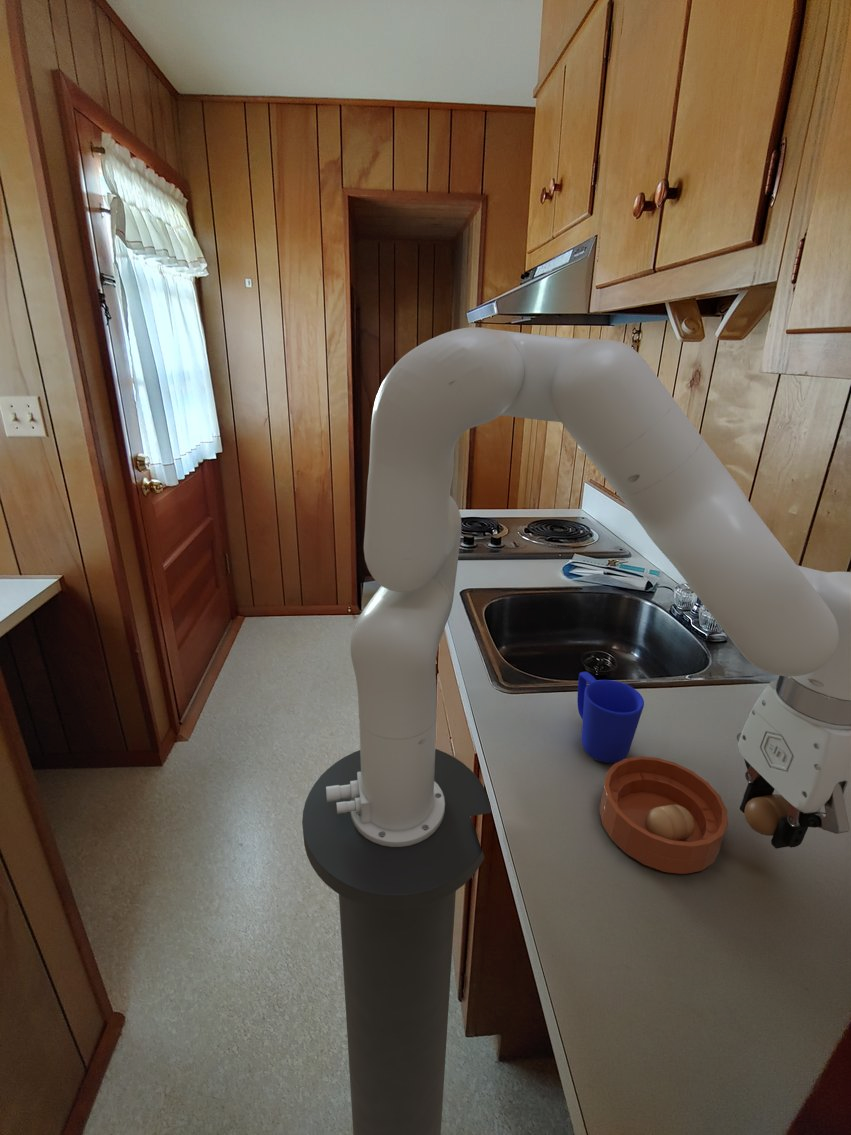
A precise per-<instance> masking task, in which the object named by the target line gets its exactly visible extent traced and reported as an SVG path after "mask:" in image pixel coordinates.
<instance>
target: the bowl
mask: <svg viewBox="0 0 851 1135" xmlns="http://www.w3.org/2000/svg"><path fill="white" fill-rule="evenodd" d="M667 805H680V806H682V807H684V808H685V809H687V810H688V811H689V812H690V813H691V815H692V816H693V819H694V822H695V829H694V832H693V834H692V835H691V836H690V837H689V838H687V839H685V840H680V841H674V840H669V839H666V838H663V837H660V836H657V835H654V834H652V833H650V832H648V831H647V829H646V826H645V818H646V815H647V813H648V812H649V811H650V810H651V809H653V808H656V807H661V806H667ZM598 811H599V815H600V820H601V825H602V827H603V828H604V830H605V831H606V833H607V835H608V836H609V838H610V839H611V841H613V842H614V843H615V844H616V845H617V846H618V847H619V849H621V850H622V851H623V852H624V853H625V855H628V856H629V857H631V858H633V859H634V860H636V861H637V862H639V863H641V864H642V865H644V866H647V867H649V868H652V869H655V870H657V871H658V870H659V871H660V872H663V873H664V872H665V873H671V874H679V875H686V874H692V873H696V872H697V873H698V872H701V871H704V870H706V868H708V867H709V866H711V865H712V864H714V863H715V861H716V859H717V856H718V854H719V853H720V850H721V847H722V844H723V841H724V837H725V835H726V832H727V829H728V826H729V818H728V817H729V816H728V810H727V807H726V804H725V803H724V801H723V799H722V797H721V795H720V794H719V793H718V792H717V791H716V790H715V788H714V787H713V786H712V785H711V784H710V783H709V782H708V781H707V780H705V779H704V778H703V777H702V776H700V775H699V774H697V773H696V772H695V771H694V770H691V769H689V768H687V767H685V766H683V765H682V764H679V763H676V762H674V761H671V760H667V759H664V758H661V757H654V756H645V755H644V756H643V755H639V756H632V757H625V758H624V759H623V760H621V761H619V762H616V763H613V765H612V766H611V767H610V768H609V769H608V771H607V772H606V774H605V779H604V784H603V790H602V794H601V799H600V804H599V810H598Z"/></svg>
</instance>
